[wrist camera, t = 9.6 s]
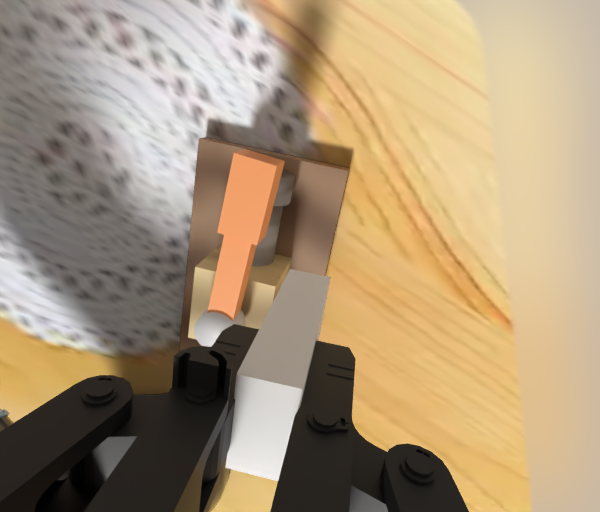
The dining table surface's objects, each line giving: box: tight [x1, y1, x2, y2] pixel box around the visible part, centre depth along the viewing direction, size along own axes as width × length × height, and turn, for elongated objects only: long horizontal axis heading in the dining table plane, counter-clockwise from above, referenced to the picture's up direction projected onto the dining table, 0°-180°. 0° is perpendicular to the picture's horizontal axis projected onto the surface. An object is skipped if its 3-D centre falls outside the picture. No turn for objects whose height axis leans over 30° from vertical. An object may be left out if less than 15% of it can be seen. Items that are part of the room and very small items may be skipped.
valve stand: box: [179, 137, 349, 352], centre depth 35 cm, size 22×12×8 cm, turn 169°
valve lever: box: [194, 149, 285, 347], centre depth 28 cm, size 14×3×2 cm, turn 164°
